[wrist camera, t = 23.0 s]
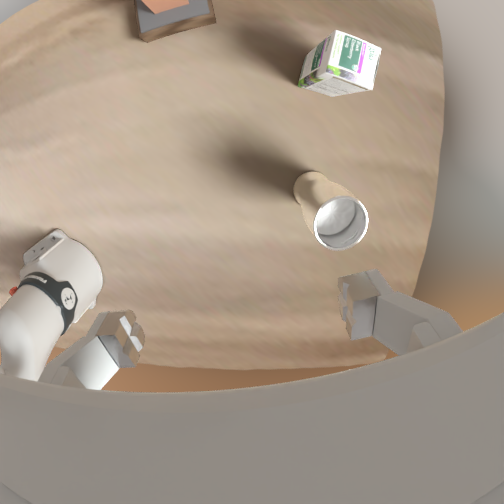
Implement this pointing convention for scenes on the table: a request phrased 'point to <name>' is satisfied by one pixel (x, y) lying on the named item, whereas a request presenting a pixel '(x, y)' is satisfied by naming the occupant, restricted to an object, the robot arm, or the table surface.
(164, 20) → the walnut plinth
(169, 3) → the terracotta block
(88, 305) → the robot arm
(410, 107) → the table surface
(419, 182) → the table surface
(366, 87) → the syrup box
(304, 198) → the beer glass
